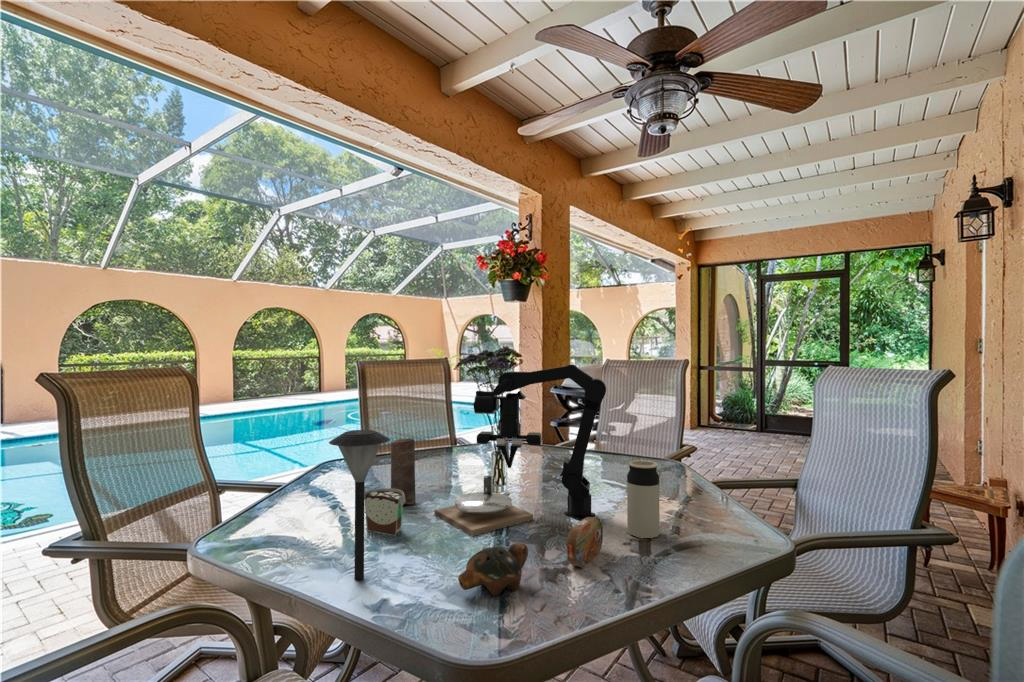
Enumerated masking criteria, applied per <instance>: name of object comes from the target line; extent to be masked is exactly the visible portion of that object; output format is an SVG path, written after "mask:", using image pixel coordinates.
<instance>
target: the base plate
mask: <svg viewBox="0 0 1024 682" xmlns="http://www.w3.org/2000/svg"><path fill="white" fill-rule="evenodd" d="M434 516H436V517H437V516H438V517H437V518H439V519H441V520H443V521H444V520H445V521H444V522H446V521H447V522H446V523H448V524H450V525H451V526H453V527H455V528H457V529H459V530H460V529H461V530H460V531H462V530H463V531H462V532H464V533H466V534H468V535H469V534H470V535H469V536H471V537H474V536H477V534H478V535H482V534H485V533H488V531H489V532H493V531H496V529H497V530H499V528H500V529H503V527H504V528H507V527H506V526H508V527H511V526H510V525H512V526H514V525H513V524H515V525H518V524H517V523H519V524H521V523H520V522H523V523H525V522H524V521H527V522H529V521H528V520H531V521H533V520H534V514H533V513H531V512H529V511H528V510H527V511H526V510H524V509H521V508H519V507H516V506H514V505H511V507H510V508H509V509H507V510H504V511H501V512H497V513H489V514H473V513H467V512H463V511H460V510H458V509H456V508H455V504H454V505H451V506H447V507H442V508H437V509H434ZM492 530H493V531H492ZM484 532H485V533H484ZM481 533H482V534H481Z"/></svg>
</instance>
